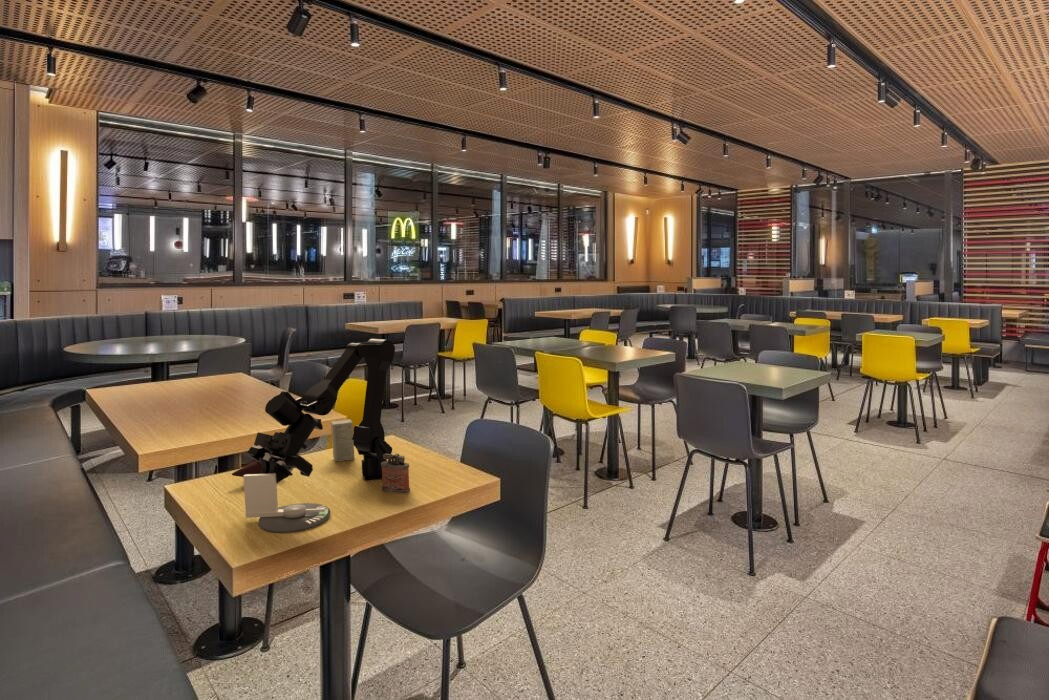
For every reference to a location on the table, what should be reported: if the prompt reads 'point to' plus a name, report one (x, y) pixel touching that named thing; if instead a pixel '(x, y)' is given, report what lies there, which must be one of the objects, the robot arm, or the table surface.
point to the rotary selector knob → (268, 498)
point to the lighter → (395, 474)
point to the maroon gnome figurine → (249, 469)
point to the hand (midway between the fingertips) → (259, 492)
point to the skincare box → (342, 440)
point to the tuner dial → (295, 520)
